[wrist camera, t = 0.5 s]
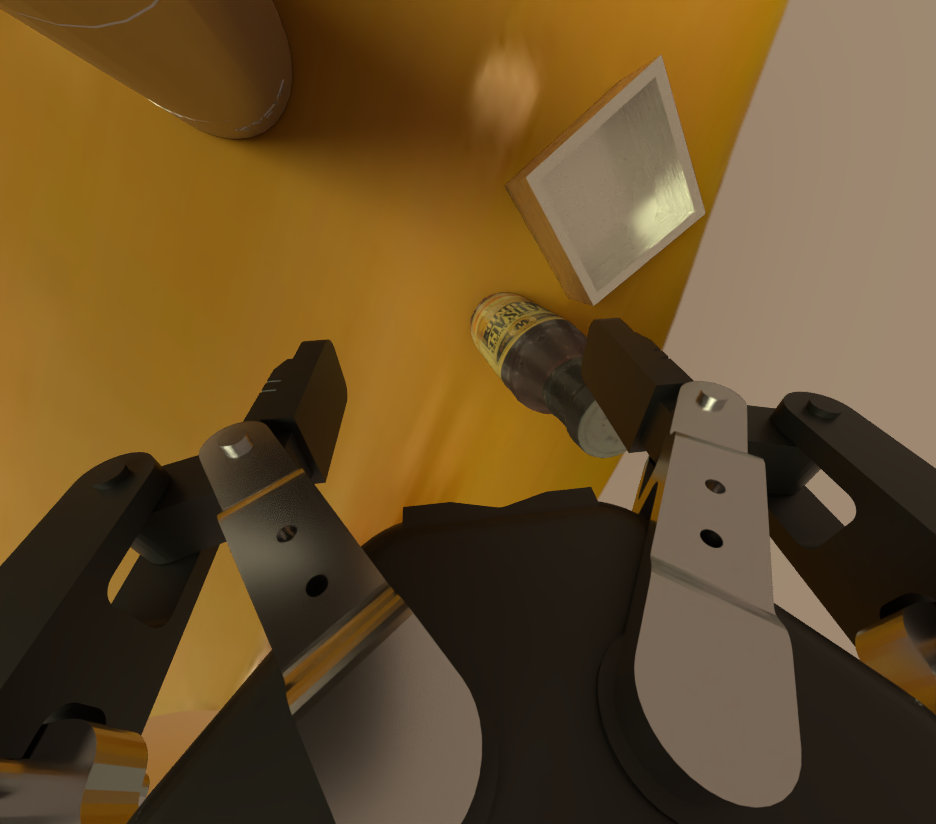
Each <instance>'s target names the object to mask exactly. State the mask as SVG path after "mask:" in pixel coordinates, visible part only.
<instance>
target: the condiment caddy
mask: <svg viewBox="0 0 936 824" xmlns="http://www.w3.org/2000/svg"><path fill="white" fill-rule="evenodd" d="M505 187H506V189H507V191H508V192H509V194H510V196H511V198H512V199H513V201H514V203H515V205H516V207H517V208H518V210H519V212H520V214H521V215H522V217H523V219H524V221H525V222H526V224H527V226H528V228H529V229H530V231H531V233H532V235H533V237H534V238H535V240H536V242H537V244H538V245H539V247H540V249H541V251H542V252H543V254H544V256H545V258H546V259H547V261H548V263H549V265H550V267H551V268H552V270H553V272H554V274H555V275H556V277H557V279H558V281H559V282H560V284H561V286H562V288H563V289H564V291H565V293H566V295H567V296H568V298H570V299H573V300H576V301H579V302H582V303H586V304H589V305H592V306H594V305H596V304H597V303H598V302H599V301H600V300H602V299H603V298H604V297H605V296H606V295H608V294H609V293H610V292H611V291H613V290H614V289H615V288H616V287H617V286H619V285H620V284H621V283H622V282H623V281H625V280H626V279H627V278H628V277H629V276H631V275H632V274H633V273H634V272H636V271H637V270H638V269H639V268H640V267H642V266H643V265H644V264H645V263H646V262H648V261H649V260H650V259H651V258H652V257H654V256H655V255H656V254H657V253H658V252H660V251H661V250H662V249H663V248H665V247H666V246H667V245H668V244H669V243H671V242H672V241H673V240H674V239H675V238H677V237H678V236H679V235H680V234H681V233H683V232H684V231H685V230H686V229H688V228H689V227H690V226H691V225H692V224H694V223H695V222H696V221H697V220H698V219H700V218H701V217H702V216H703V215H704V214H706V213H705V210H704V206H703V203H702V199H701V195H700V192H699V188H698V185H697V181H696V177H695V174H694V170H693V167H692V163H691V159H690V156H689V152H688V149H687V145H686V141H685V138H684V134H683V131H682V127H681V123H680V120H679V116H678V113H677V109H676V105H675V102H674V98H673V95H672V91H671V87H670V84H669V80H668V77H667V73H666V69H665V66H664V62H663V59H662V55H660V56H658V57H657V58H655V59H654V60H652V61H650V62H649V63H647V64H646V65H644V66H643V67H641V68H639V69H638V70H636V71H635V72H633V73H632V74H630V75H628V76H627V77H625V78H624V79H622V80H621V81H619V82H618V83H617V84H616V85H615V86H614V87H613V88H612V89H610V90H609V91H608V92H607V93H606V94H605V95H604V96H603V97H602V98H601V99H599V100H598V101H597V102H596V103H595V104H594V105H593V106H592V107H591V108H590V109H588V110H587V111H586V112H585V113H584V114H583V115H582V116H581V117H580V118H579V119H577V120H576V121H575V122H574V123H573V124H572V125H571V126H570V127H569V128H568V129H567V130H565V131H564V132H563V133H562V134H561V135H560V136H559V137H558V138H557V139H556V140H554V141H553V142H552V143H551V144H550V145H549V146H548V147H547V148H546V149H545V150H543V151H542V152H541V153H540V154H539V155H538V156H537V157H536V158H535V159H534V160H532V161H531V162H530V163H529V164H528V165H527V166H526V167H525V168H524V169H523V170H521V171H520V172H519V173H518V174H517V175H516V176H515V177H514V178H513V179H512V180H510V181H509V182H508V183H507V184H506V185H505Z"/></svg>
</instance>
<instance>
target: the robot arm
mask: <svg viewBox="0 0 936 824" xmlns="http://www.w3.org/2000/svg"><path fill="white" fill-rule="evenodd" d="M0 9H2V10H3V11H5V12H7V13H8V14H10V15H12V16H13V17H15V18H16V19H18V20H20V21H21V22H23V23H25V24H26V25H28V26H30V27H31V28H33V29H34V30H36V31H38V32H39V33H41V34H43V35H44V36H46V37H48V38H49V39H51V40H52V41H54V42H56V43H57V44H59V45H61V46H62V47H64V48H65V49H67V50H69V51H70V52H72V53H74V54H75V55H77V56H79V57H80V58H82V59H83V60H85V61H87V62H88V63H90V64H92V65H93V66H95V67H97V68H98V69H100V70H101V71H103V72H105V73H106V74H108V75H110V76H111V77H113V78H115V79H116V80H118V81H119V82H121V83H123V84H124V85H126V86H128V87H129V88H131V89H133V90H134V91H136V92H137V93H139V94H141V95H142V96H144V97H146V98H147V99H149V100H150V101H152V102H153V103H155V104H157V105H158V106H160V107H161V108H163V109H165V110H166V111H168V112H170V113H171V114H173V115H175V116H176V117H178V118H180V119H181V120H183V121H185V122H186V123H188V124H190V125H192V126H193V127H195V128H197V129H199V130H200V131H203V132H206V133H209V134H211V135H214V136H217V137H222V138H229V139H243V138H251V137H253V136H256V135H259V134H261V133H264V132H265V131H266V130H268V129H269V128H270V127H271V126H273V125H274V124H275V123H276V122H277V120H278V119H279V118H280V116H281V115H282V113H283V112H284V110H285V107H286V105H287V102H288V100H289V97H290V91H291V85H292V59H291V54H290V49H289V44H288V39H287V36H286V34H285V31H284V28H283V25H282V23H281V20H280V17H279V15H278V12H277V10H276V8H275V5H274V3H273V1H272V0H0ZM581 372H582V378H583V381H584V383H585V384H586V386H587V387H588V389H589V390H590V392H591V394H592V395H593V397H594V398H595V400H596V402H597V403H598V405H599V406H600V408H601V410H602V411H603V413H604V414H605V416H606V417H607V419H608V421H609V422H610V424H611V425H612V427H613V429H614V430H615V432H616V433H617V435H618V437H619V438H620V440H621V441H622V443H623V445H624V446H625V448H626V449H627V451H628V452H629V453H633V452H643V451H647V452H648V454H649V456H648V459H647V461H646V463H645V466H644V470H643V473H642V477H641V480H640V484H639V487H638V491H637V495H636V499H635V502H634V505H633V509H632V511H630V510H628V509H626V508H623V507H620V506H616V505H613V504H609V503H604V502H598V501H597V499H596V496H595V494H594V492H593V490H592V488H591V487H587V488H577V489H568V490H559V491H549V492H544V493H541V494H539V495H536V496H533V497H530V498H528V499H525V500H522V501H519V502H516V503H514V504H511V505H508V506H505V507H500V508H498V507H488V506H480V505H471V504H463V503H454V502H447V503H437V504H428V505H419V506H409V507H403V522H402V523H399V524H396V525H394V526H392V527H390V528H387V529H385V530H384V531H382V532H380V533H379V534H377V535H375V536H374V537H372V538H371V539H370V540H369V541H367V542H366V543H365V544H363V545H362V546H361V547H360V545H359V544H358V543H357V541H356V540H355V538H354V537H353V536H352V534H351V533H350V532H349V530H348V529H347V528H346V526H345V525H344V524H343V522H342V521H341V520H340V518H339V517H338V516H337V514H336V513H335V512H334V510H333V509H332V508H331V506H330V505H329V503H328V502H327V501H326V499H325V498H324V497H323V495H322V494H321V493H320V491H319V490H318V489H317V487H316V486H315V485H314V484H317V483H325V482H326V479H327V475H328V471H329V467H330V464H331V460H332V456H333V452H334V448H335V445H336V441H337V437H338V433H339V429H340V426H341V422H342V418H343V414H344V411H345V407H346V403H347V387H346V383H345V379H344V376H343V373H342V370H341V367H340V364H339V361H338V358H337V355H336V352H335V349H334V346H333V344H332V342H331V341H330V340H316V341H304V342H302V343H301V345H300V346H299V348H298V350H297V352H296V354H295V356H294V358H293V359H287V360H285V361H284V362H283V363H282V364H280V365H279V366H278V367H277V368H275V369H274V370H273V372H272V374H271V375H270V377H269V379H268V380H267V382H268V383H266V384H265V385H264V387H263V389H262V393H260V394H259V396H258V397H257V399H256V401H255V402H254V404H253V406H252V407H251V409H250V411H249V412H248V414H247V416H246V418H245V419H244V421H243V422H240V423H236V424H233V425H230V426H228V427H226V428H224V429H222V430H220V431H218V432H216V433H215V434H214V435H212V436H211V437H210V438H209V439H208V440H207V441H206V442H205V443H204V444H203V446H202V447H201V449H200V452H199V455H198V456H194V457H191V458H188V459H184V460H181V461H178V462H174V463H171V464H168V465H164V466H161V465H160V464H159V463H158V462H157V461H156V460H155V459H154V458H153V457H152V455H150V454H148V453H144V452H135V453H128V454H124V455H120V456H117V457H114V458H112V459H109V460H107V461H105V462H103V463H101V464H99V465H97V466H95V467H94V468H92V469H90V470H89V471H88V472H86V473H85V474H84V475H82V476H81V477H80V478H79V479H78V480H77V481H76V482H75V483H74V484H73V485H72V486H71V487H70V488H69V489H68V491H67V492H66V493H65V494H64V495H63V496H62V497H61V498H60V500H59V501H58V502H57V503H56V504H55V505H54V506H53V508H52V509H51V510H50V511H49V512H48V513H47V514H46V515H45V517H44V518H43V519H42V520H41V521H40V522H39V523H38V524H37V526H36V527H35V528H34V529H33V530H32V531H31V532H30V533H29V535H28V536H27V537H26V538H25V539H24V540H23V541H22V543H21V544H20V545H19V546H18V547H17V548H16V549H15V550H14V552H13V553H12V554H11V555H10V556H9V557H8V558H7V559H6V561H5V562H4V563H3V564H2V565H1V566H0V824H936V468H934V467H933V466H931V465H930V464H929V463H927V462H926V461H924V460H923V459H922V458H920V457H919V456H917V455H916V454H915V453H913V452H912V451H910V450H909V449H908V448H906V447H905V446H903V445H902V444H900V443H899V442H898V441H896V440H895V439H894V438H892V437H891V436H889V435H888V434H886V433H885V432H884V431H882V430H881V429H879V428H878V427H877V426H875V425H874V424H872V423H871V422H870V421H868V420H867V419H866V418H864V417H863V416H861V415H860V414H859V413H857V412H856V411H854V410H853V409H851V408H850V407H848V406H847V405H845V404H843V403H841V402H839V401H837V400H835V399H832V398H829V397H826V396H823V395H819V394H815V393H809V392H793V393H789V394H787V395H786V396H785V397H784V398H783V399H782V401H781V402H780V404H779V405H778V406H777V408H776V409H775V408H765V407H758V406H749V405H746V402H745V400H744V399H743V398H742V397H741V396H740V395H739V394H737V393H736V392H734V391H733V390H731V389H729V388H727V387H725V386H722V385H719V384H716V383H711V382H705V381H693V380H692V379H691V378H690V377H689V376H688V375H687V374H686V373H685V372H684V371H683V370H682V369H681V368H680V367H679V366H678V365H676V364H675V363H674V362H673V361H672V360H671V359H668V356H667V355H666V354H665V353H664V352H663V351H660V348H659V347H658V346H657V345H655V344H654V343H653V342H652V341H651V340H650V339H648V338H646V337H644V336H642V335H640V334H638V333H636V332H634V331H633V330H632V329H631V328H630V327H629V326H628V325H627V324H626V323H624V322H623V321H622V320H621V319H620V318H611V319H598V320H594V321H593V322H592V323H591V325H590V328H589V332H588V337H587V341H586V346H585V350H584V355H583V359H582V365H581ZM820 469H822V470H823V471H824V472H825V473H826V474H827V475H828V476H829V477H830V478H831V479H833V481H835V482H836V483H837V484H838V485H839V486H840V487H841V488H842V489H843V490H844V491H845V492H846V493H847V494H849V496H850V497H851V498H852V499H853V501H854V503H855V506H856V516H855V518H854V520H853V521H852V522H851V523H849V524H848V525H847V526H844V525H843V524H842V523H841V522H840V521H839V520H838V519H837V518H836V517H835V516H834V515H833V514H832V513H831V512H830V511H829V510H828V509H827V508H826V507H825V506H824V505H823V504H822V503H821V502H820V501H819V500H818V499H817V498H816V497H815V495H814V494H813V493H812V492H811V491H810V490H809V489H808V488H807V487H806V486H805V484H806V483H807V482H808V481H809V480H810V479H811V478H812V477H813V476H814V475H815V474H816V473H817V472H818V471H819V470H820ZM769 536H770V537H771V538H772V540H773V541H774V542H775V544H776V545H777V546H778V548H779V549H780V550H781V551H782V553H783V554H784V555H785V556H786V558H787V559H788V560H789V562H790V563H791V564H792V566H793V567H794V568H795V570H796V571H797V572H798V573H799V575H800V576H801V577H802V578H803V580H804V581H805V582H806V583H807V585H808V586H809V588H810V589H811V590H812V591H813V593H814V594H815V595H816V596H817V598H818V599H819V600H820V602H821V603H822V604H823V606H824V607H825V608H826V610H827V611H828V612H829V613H830V615H831V616H832V617H833V619H834V620H835V621H836V622H837V624H838V625H839V626H840V628H841V629H842V630H843V631H844V633H845V634H846V635H847V637H848V638H849V639H850V640H851V642H852V643H853V644H854V646H855V647H856V651H857V654H858V656H859V658H860V660H859V659H857V658H856V657H854V656H853V655H851V654H850V653H848V652H847V651H845V650H843V649H842V648H841V647H839V646H838V645H836V644H835V643H833V642H832V641H830V640H829V639H827V638H826V637H824V636H823V635H821V634H820V633H818V632H817V631H815V630H814V629H812V628H811V627H809V626H808V625H806V624H805V623H803V622H802V621H800V620H799V619H797V618H796V617H794V616H793V615H791V614H790V613H788V612H787V611H785V610H784V609H782V608H781V607H779V606H778V605H776V604H775V603H773V586H772V571H771V555H770V554H771V553H770V537H769ZM226 541H227V543H228V546H229V548H230V550H231V553H232V555H233V558H234V560H235V562H236V565H237V567H238V569H239V572H240V574H241V577H242V579H243V581H244V584H245V586H246V588H247V591H248V593H249V596H250V598H251V600H252V603H253V605H254V607H255V610H256V612H257V614H258V617H259V619H260V622H261V624H262V626H263V629H264V631H265V633H266V636H267V638H268V641H269V643H270V645H271V648H272V650H271V651H270V652H269V654H268V655H267V656H266V657H265V658H264V660H263V661H262V662H261V663H260V664H259V665H258V667H257V668H256V669H255V670H254V671H253V672H252V674H251V675H250V676H249V677H248V678H247V680H246V681H245V682H244V683H243V684H242V685H241V687H240V688H239V689H238V690H237V691H236V693H235V694H234V695H233V696H232V697H231V698H230V700H229V701H228V702H227V703H226V704H225V705H224V707H223V708H222V709H221V710H220V711H219V713H218V714H217V715H216V716H215V717H214V718H213V720H212V721H211V722H210V723H209V724H208V726H207V727H206V728H205V729H204V730H203V731H202V733H201V734H200V735H199V736H198V737H197V738H196V740H195V741H194V742H193V743H192V744H191V746H190V747H189V748H188V749H187V750H186V751H185V753H184V754H183V755H182V756H181V757H180V759H179V760H178V761H177V762H176V763H175V765H174V766H173V767H172V768H171V769H170V770H169V772H168V773H167V774H166V775H165V776H164V777H163V779H162V780H161V781H160V782H159V783H158V784H157V786H156V787H155V788H154V789H153V790H152V792H151V793H150V794H149V795H148V796H147V798H146V795H147V793H148V790H149V784H150V781H149V776H148V775H147V774H146V773H145V772H146V768H147V761H148V750H147V746H146V743H145V741H144V739H143V737H142V736H141V734H142V732H143V730H144V727H145V725H146V722H147V720H148V717H149V715H150V713H151V710H152V708H153V705H154V703H155V700H156V698H157V696H158V693H159V691H160V688H161V686H162V683H163V681H164V679H165V676H166V674H167V671H168V669H169V666H170V664H171V662H172V659H173V657H174V654H175V652H176V649H177V647H178V644H179V642H180V640H181V637H182V635H183V632H184V630H185V627H186V625H187V623H188V620H189V618H190V615H191V613H192V610H193V608H194V606H195V603H196V601H197V598H198V596H199V593H200V591H201V589H202V586H203V584H204V581H205V579H206V576H207V574H208V572H209V569H210V567H211V564H212V562H213V559H214V557H215V555H216V552H217V550H218V547H219V545H220V544H221V543H224V542H226ZM130 547H131V548H132V549H133V550H135V551H136V552H137V553H139V554H140V556H139V558H138V559H137V561H136V563H135V564H134V566H133V568H132V570H131V571H130V573H129V575H128V576H127V578H126V580H125V581H124V583H123V585H122V587H121V588H120V590H119V592H118V593H117V595H116V597H115V599H114V600H113V602H112V604H110V602H109V600H108V596H107V590H108V585H109V582H110V579H111V577H112V576H113V574H114V572H115V571H116V569H117V567H118V566H119V564H120V563H121V561H122V559H123V558H124V556H125V555H126V553H127V551H128V550H129V548H130ZM145 798H146V799H145Z"/></svg>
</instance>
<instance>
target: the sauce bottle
mask: <svg viewBox="0 0 936 824" xmlns="http://www.w3.org/2000/svg"><path fill="white" fill-rule="evenodd" d="M471 334H472V339H473V341H474V344H475V346H476V347H477V349H478V350H479V351H480V353H481V354H482V355H483V357H484V358H485V359H486V360H487V362H488V363H489V364H490V366H491V367H492V368H493V370H494V371H495V372H496V374H497V375H498V376H499V378H500V379H501V380H502V382H503V383H504V384H505V386H506V387H507V388H508V389H509V390H511V391H512V393H513V394H514V395H515V397H516V398H517V400H518V401H519V402H521V403H522V404H524V405H525V406H526V407H528V408H530V409H532V410H534V411H537V412H540V413H544V414H553V415H554V416H556V417H557V418H559V420H560V421H561V422H562V423H563V424H564V425H565V426H566V428H567V431H568V433H569V435H570V437H571V438H572V440H573V441H574V442H575V443H576V444H577V445H578V446H579V447H580V448H581V449H582V450H583V451H584V452H586V453H587V454H589V455H591V456H594V457H600V458H606V457H613V456H616V455H619V454H622V453H624V452H625V451H627V449H626V448H625V446H624V445H623V443H622V441H621V440H620V438H619V437H618V435H617V433H616V432H615V430H614V429H613V427H612V425H611V424H610V422H609V421H608V419H607V417H606V416H605V414H604V413H603V411H602V410H601V408H600V406H599V405H598V403H597V402H596V400H595V398H594V397H593V395H592V394H591V392H590V390H589V389H588V387H587V386H586V384H585V383H584V381H583V378H582V372H581V365H582V359H583V355H584V350H585V346H586V341H587V337H586V336H585V335H584V334H583V333H582V332H580V331H579V330H578V329H577V328H576V327H575V326H574V325H573V324H572V323H570V322H569V321H567V320H565V319H564V318H562V317H560V316H558V315H556V314H554V313H552V312H550V311H549V310H547V309H545V308H543V307H541V306H539V305H537V304H535V303H533V302H531V301H529V300H527V299H525V298H523V297H521V296H519V295H517V294H514V293H497V294H492V295H490V296H488V297H487V298H484V299H483V300H482V301H481V302H480V304H479V305H478V306H477V308H476V309H475V311H474V313H473V315H472V317H471Z"/></svg>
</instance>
